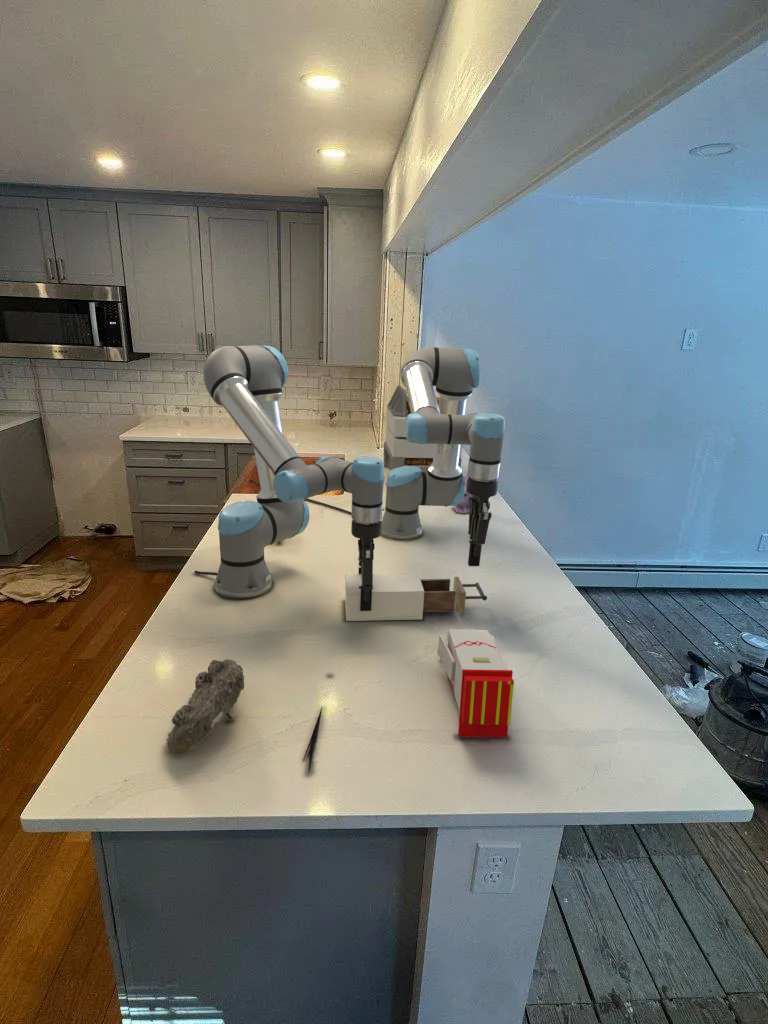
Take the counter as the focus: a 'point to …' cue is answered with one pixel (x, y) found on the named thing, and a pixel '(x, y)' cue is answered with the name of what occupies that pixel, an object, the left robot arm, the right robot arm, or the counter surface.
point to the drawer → (447, 595)
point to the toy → (478, 682)
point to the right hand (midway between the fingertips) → (473, 564)
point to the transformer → (404, 436)
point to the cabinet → (386, 597)
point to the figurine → (464, 501)
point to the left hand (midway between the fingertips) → (364, 599)
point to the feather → (313, 740)
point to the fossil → (206, 705)
